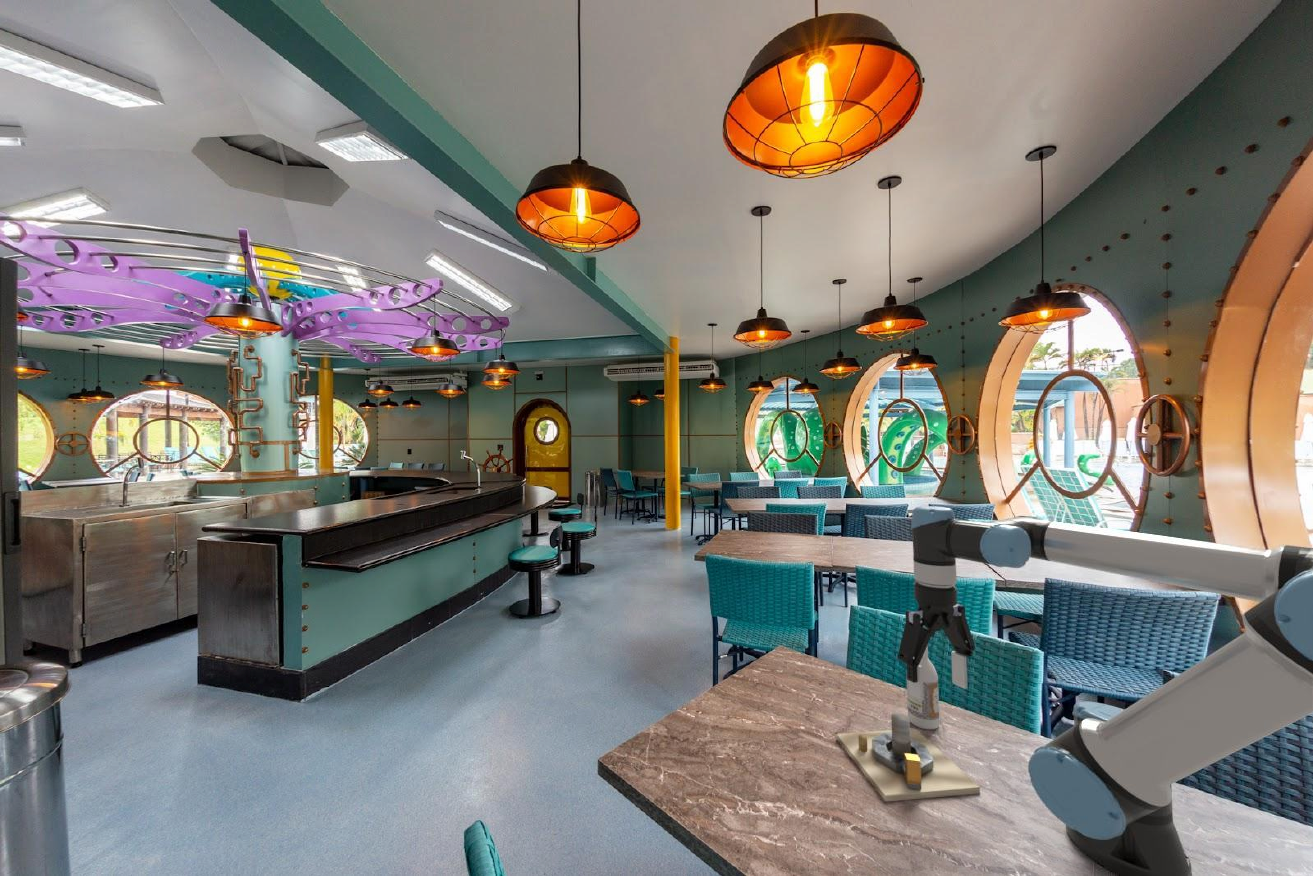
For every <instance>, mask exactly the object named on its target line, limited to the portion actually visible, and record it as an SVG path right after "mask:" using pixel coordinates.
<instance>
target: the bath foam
mask: <svg viewBox="0 0 1313 876" xmlns="http://www.w3.org/2000/svg"><path fill="white" fill-rule="evenodd" d="M913 659H914V657H913ZM919 665H920V666H923V692H924V700H923V701H920V700H918V699H917V698H915V697H913V696H911V695H909V680H908V679H907V678H906V698H907V699H906V701H907V702H906V704H907V705H906V706H907V717H909V719H910V724H912V725H914V726H916V727H918V728H920V729H925V730H936V729H938V728H939V727H940V701H939V700H940V698H939V696H940V695H939V692H940V691H939V675H938V673H937V670H936V668H935V666H934V664H933V662H932V661H931V660H930V659H929V649H928V645H927V647H926V650H925V652H924V654H923V657H922V659H921V661H920V664H919ZM906 675H907V672H906Z"/></svg>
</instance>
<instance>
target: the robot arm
mask: <svg viewBox="0 0 1313 876" xmlns="http://www.w3.org/2000/svg"><path fill="white" fill-rule="evenodd" d="M910 527H911V528H910V529H911V535H912V536H911V537H912V553H913V555H912V557H913V559H912V560H913V578H914V580H915V581H914V582H913V593H914V594H913V597H914V600H916V602H917V604H918V605H917V606H918V607H917V610H916V611H911V610H906V611H905V624H904V627H903V628H904V629H903V631H902V637H901V640H900V644H899V649H898V653H897V660H898V661H900V662H902V663H904V664H906V673H907V674H906V680H907V679H908V680H909V695H911V696H913V697H915V698H917V699H918V700H920V701H923V700H924V692H923V666H920V665H919V664H920V661H921V659H922V657H923V654H924V652H925V650H926V647H927V645H928V644H929V642H930V640H931V638H932V637H934V636H935V634H936V632H939V631H941V630H942V631H943V632H944V634H945V636H946V637H947V639H948V641H949V643H950V644H951V646H952V648H953V651H951V652H950V654H951V657H950V658H951V682H952V684H953V685H955V686H957V687H959V688H962V690H966V689H967V690H968V666H969V665H968V657H971V658H972V657H973V654H974V651H975V650H976V645H975V642H974V638H973V636H972V633H971V630H970V627H969V623H968V620H967V617H966V616H967V615H966V607H965V606H964V605H962V604H959V603H958V588H957V587H956V584H957V583H958V581H957V565H956V564H957V563H956V559H959V560H965V561H971V562H977V563H979V564H980V563H982V564H986V565H991V566H995V567H996V568H1003V567H1005V568H1011V569H1020V568H1022V567H1024V566H1025V565H1026V563H1027V562H1029V560H1030V558H1031V559H1036V560H1041V561H1047V562H1052V563H1053V562H1054V563H1059V564H1065V565H1067V566H1073V567H1080V568H1085V569H1089V570H1095V571H1100V572H1105V573H1109V574H1115V575H1119V576H1124V577H1125V576H1126V577H1130V578H1135V579H1140V580H1141V579H1142V580H1146V581H1151V582H1157V583H1162V584H1166V585H1172V586H1176V587H1182V588H1187V589H1191V590H1198V591H1202V592H1207V593H1211V594H1217V595H1223V596H1228V597H1232V598H1237V599H1243V600H1248V601H1254V602H1256V603H1257V602H1258V603H1257V604H1256V605H1254V606H1252V607H1251V608H1250V609H1248V610H1247V611H1245V612H1244V613H1243V614H1241V616H1242V617H1241V618H1242V621H1243V626H1244V632H1243V633H1242V634H1241V635H1239V636H1237V637H1236V638H1234V639H1232V640H1231V641H1230V642H1228V643H1226V644H1225V645H1224V646H1222V647H1220V648H1219V649H1218V650H1215V651H1214V652H1212V653H1211V654H1209V655H1208V656H1207V657H1205V658H1202V660H1200V661H1198V662H1197V663H1195V664H1194V665H1191V667H1189V668H1187V669H1186V670H1184V671H1183V672H1181V673H1179V674H1178V675H1176V676H1175V677H1174V678H1172V679H1171V680H1169V681H1167V682H1166V683H1164V684H1162V685H1161V686H1159V687H1158V688H1157V689H1155V690H1153V691H1152V692H1150V693H1149V694H1147V695H1145V696H1144V697H1142V698H1141V699H1139V700H1137V701H1136V702H1135V703H1133V704H1131V705H1129V706H1127V708H1125V709H1124V708H1120V707H1117V706H1114V705H1109V704H1105V703H1100V702H1096V701H1088V700H1087V701H1078V702H1075V704H1074V705H1073V711H1072V716H1073V723H1074V724H1073V726H1072V727H1070V728H1069V729H1067V730H1065V731H1064V732H1062V734H1060V735H1058V736H1057V737H1055V738H1054V739H1052V740H1051V741H1049V742H1048V743H1046V744H1045V745H1044V746H1043V745H1042V746H1039V747H1036V749H1035V750H1034V752H1033V754H1032V755H1031V757H1029V760H1028V766H1027V771H1028V775H1029V777H1030V783H1031V785H1032V788H1033V789H1034V791H1035V793H1036V794H1037V796H1038V798H1039V799H1040V801H1041V802H1042V803H1043V805H1045V807H1046V808H1047V809H1048V810H1049V811H1050V813H1052V814H1053V815H1054V816H1055V818H1056V819H1058V820H1059V821H1060V822H1062V823H1063V824H1064V825H1065V829H1066V833H1067V834H1068V836H1069V839H1070V840H1071V841H1072V842H1073V843H1074V844H1075V846H1076V847H1078V849H1079V848H1080V849H1079V850H1081V852H1083V853H1084V855H1086V856H1087V855H1088V856H1087V857H1088V858H1090V859H1091V858H1092V859H1091V860H1093V861H1094V862H1095V861H1096V863H1097V862H1098V863H1099V865H1100V866H1101V865H1103V866H1104V868H1105V869H1106V868H1107V869H1106V870H1108V871H1110V872H1111V873H1113V874H1115V875H1117V876H1119V875H1120V876H1193V873H1192V863H1191V860H1190V858H1189V855H1188V854H1187V851H1186V850H1185V849H1184V847H1183V844H1182V842H1181V839H1180V836H1179V833H1178V830H1177V828H1176V825H1175V824H1174V817H1173V793H1172V791H1173V789H1172V785H1173V784H1175V783H1176V782H1178V781H1180V780H1183V779H1185V778H1186V777H1189V776H1191V775H1193V774H1195V773H1196V772H1198V771H1200V770H1202V769H1205V768H1206V767H1208V766H1211V765H1212V764H1215V763H1216V762H1218V761H1221V760H1223V759H1224V758H1226V757H1228V756H1230V755H1232V754H1233V753H1236V752H1238V751H1241V750H1242V749H1244V748H1246V747H1248V746H1250V745H1252V744H1254V743H1255V742H1258V741H1260V740H1262V739H1264V738H1266V737H1268V736H1270V735H1271V734H1274V733H1275V732H1278V731H1279V730H1282V729H1284V728H1286V727H1288V726H1289V725H1291V724H1293V723H1295V722H1297V721H1299V720H1301V719H1303V718H1305V717H1307V716H1309V715H1312V714H1313V547H1308V546H1307V547H1306V546H1305V547H1304V546H1297V545H1296V546H1295V545H1289V544H1281V545H1280V546H1279V545H1278V546H1277V547H1275V548H1272V549H1265V548H1264V549H1262V548H1256V547H1250V546H1249V547H1248V546H1241V545H1233V544H1226V543H1219V542H1210V541H1201V540H1195V539H1187V538H1178V537H1173V536H1166V535H1165V536H1164V535H1157V534H1152V533H1151V534H1149V533H1143V532H1142V533H1141V532H1135V531H1127V530H1119V529H1111V528H1104V527H1103V528H1102V527H1097V526H1088V525H1082V524H1074V523H1067V522H1059V521H1058V522H1057V521H1050V520H1045V519H1043V518H1040V517H1037V516H1032V515H1018V516H1013V517H1009V518H1004V519H1003V518H1002V519H996V520H991V521H975V520H973V521H972V520H964V519H963V520H962V519H958V518H956V516H955V511H954V510H953V509H952V508H951V507H945V506H934V505H931V506H930V505H929V506H928V505H926V506H925V505H923V506H917V507H915V508H913V510H912V513H911V526H910ZM913 657H914V659H913ZM1098 863H1097V864H1098ZM1103 866H1102V867H1103Z"/></svg>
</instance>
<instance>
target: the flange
mask: <svg viewBox="0 0 1313 876" xmlns="http://www.w3.org/2000/svg"><path fill="white" fill-rule="evenodd" d="M910 742H911V753H912V754H908V753H905V758H900V757H897V756H896V755H894V754H892V753H891V752H889V751H888V750H889V749H891V748H892V734H888V733H883V734H882V735H880V736H878V737H876V738H874V739H872V748H873V751H874V754H875V757H876V760H878V761H879V762H881V763H882V764H884V765H886V766H887V767H889V768H890V769H892V770H894V771H895V772H898V773H903V776H904V779H905V781H906V784H907V786H908V788H912V789H919V790H921V776H922V775H923V774H925V773H926V772H928V771H929V770H931V769H933V768H934V766H933V759H932V757H931V755H930V753H929V751H928V749H927V747H926V746H924V745H922V744H921V743H919V742H917V741H915V740H913V739H911V738H910Z"/></svg>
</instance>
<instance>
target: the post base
mask: <svg viewBox="0 0 1313 876" xmlns="http://www.w3.org/2000/svg"><path fill="white" fill-rule="evenodd" d="M883 733H888V734H892V748H891V749H889V750H888V751H889V752H891V753H892V754H894V755H896V756H897V757H900V758H905V753H908V754H912V753H911V742H910V738H911V739H913V740H915V741H917V742H919V743H921V744H922V745H924V746H926V747H927V749H928V751H929V753H930V755H931V757H932V759H933V766H934V768H933V769H931V770H929V771H928V772H926V773H925V774H923V775H922V776H921V790H919V789H912V788H908V786H907V784H906V781H905V779H904V776H903V773H898V772H895V771H894V770H892V769H890V768H889V767H887V766H886V765H884V764H882V763H881V762H879V761H878V760H876V757H875V754H874V751H873V748H872V739H874V738H876V737H878V736H880V735H882V734H883ZM836 740H837V742H838V743H839V744H840V746H841V747H842V748H843V750H844V751H846V753H847V754H848V755H849V758H851V759H852V761H853V762H854V764H856V766H857V767H858V768H859V770H860V771H861V772H862V774H864V776H865V777H866V778H867V780H868V782H869V783H870V784H871V785H872V786H873V788H874V789H875V791H876V792H877V793H878V794H879V796H881V798H882V799H883V801H884V802H887V803H888V802H897V801H898V802H899V801H907V800H916V799H917V800H918V799H919V800H921V799H926V798H927V799H929V798H932V799H933V798H940V797H941V798H942V797H952V796H953V797H954V796H963V795H975V794H981V790H980V789H981V787H980V786H979V785H978V784H977V783H976V782H974V780H973V779H972V778H970V776H968V775H967V774H966V773H965V772H964V771H963V770H962V769H961V768H959V767H958V766H957V765H956V764H955V763H954V762H953V761H951V760H950V758H948V756H946V755H945V754H944V753H943V752H942V751H941V750H940V749H938V747H936V746H935V745H934V744H933V743H932V742H931V741H930V740H929V739H927V738H926V736H924V735H923V734H922V733H921V732H920V731H919V730H918V729H916V727H915V728H911V722H910V719H909V717H908V715H905V714H903V713H900V712H893V713H892V714H891V729H887V730H873V731H864V732H863V731H861V732H860V731H858V732H847V733H845V732H844V733H836Z"/></svg>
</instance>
